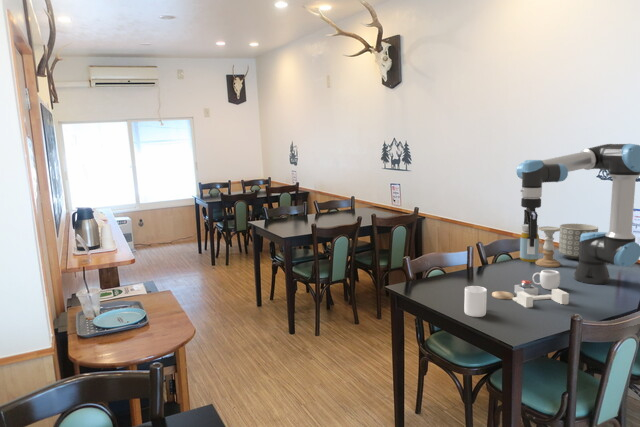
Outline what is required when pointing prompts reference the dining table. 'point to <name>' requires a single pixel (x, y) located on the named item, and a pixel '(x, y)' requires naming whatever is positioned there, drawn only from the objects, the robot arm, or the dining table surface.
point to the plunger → (526, 284)
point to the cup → (475, 301)
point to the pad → (502, 295)
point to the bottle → (524, 245)
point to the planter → (573, 238)
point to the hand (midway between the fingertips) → (529, 251)
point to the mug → (549, 279)
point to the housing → (538, 296)
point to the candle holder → (548, 248)
